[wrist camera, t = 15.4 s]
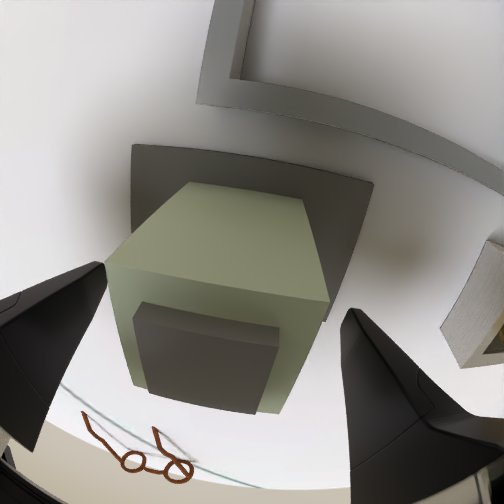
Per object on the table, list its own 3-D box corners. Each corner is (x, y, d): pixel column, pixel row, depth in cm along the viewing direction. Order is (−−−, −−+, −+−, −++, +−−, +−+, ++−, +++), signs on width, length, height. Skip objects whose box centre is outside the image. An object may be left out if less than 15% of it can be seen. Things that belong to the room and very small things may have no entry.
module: (302, 199, 12) (334, 321, 5) (280, 292, 14) (278, 428, 7) (189, 181, 12) (91, 275, 5) (184, 275, 14) (128, 398, 7)
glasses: (128, 447, 34) (120, 470, 29) (82, 408, 28) (69, 435, 23) (197, 460, 31) (192, 487, 27) (157, 423, 26) (146, 459, 21)
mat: (372, 182, 11) (374, 184, 11) (325, 318, 15) (325, 321, 15) (135, 144, 11) (131, 144, 11) (137, 284, 15) (135, 287, 15)
